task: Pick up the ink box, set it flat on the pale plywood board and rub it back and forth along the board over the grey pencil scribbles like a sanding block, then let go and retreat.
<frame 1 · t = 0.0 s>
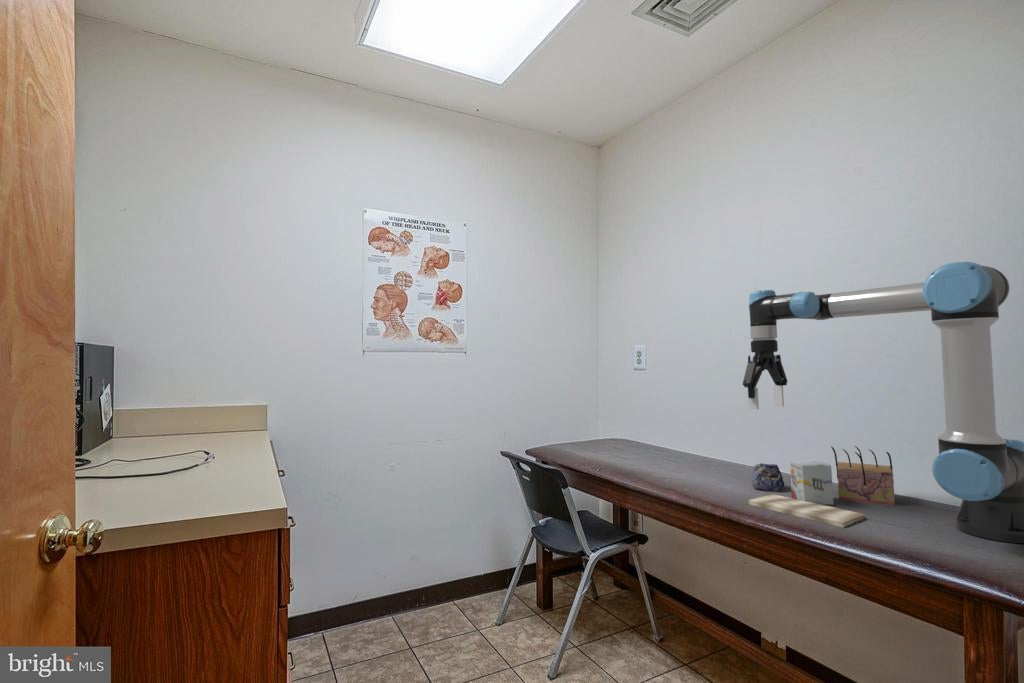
hand: (766, 407, 158), 28 cm above the table, fingers open, 13 cm apart
anatomical model: (863, 498, 155), on the table
board: (803, 511, 143), on the table
rock: (765, 488, 169), on the table
ink box: (811, 501, 152), on the table
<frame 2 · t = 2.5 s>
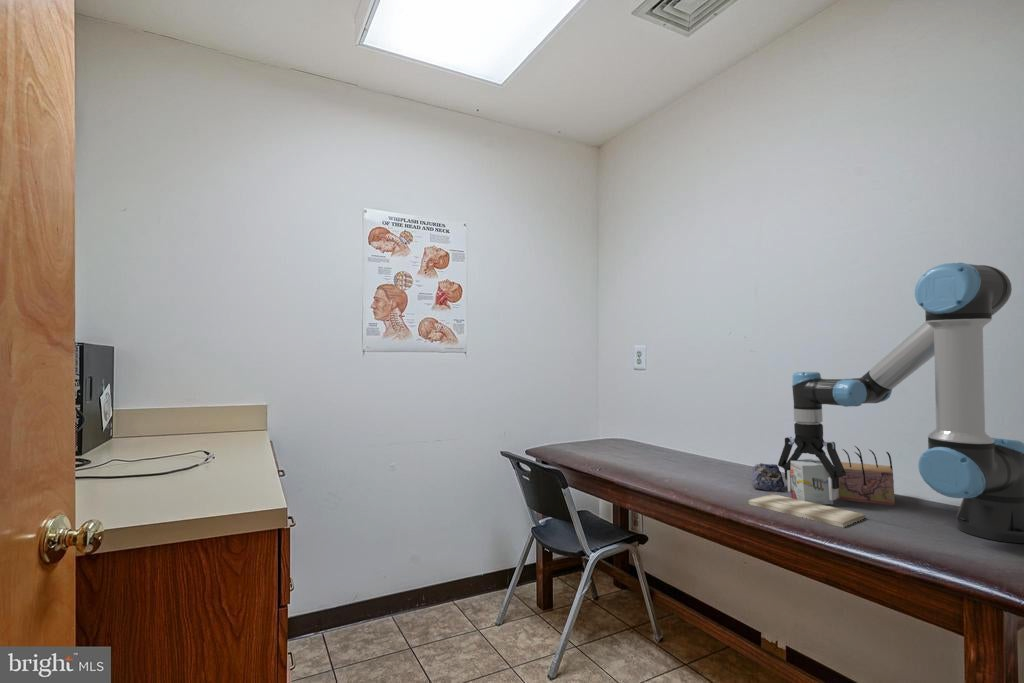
hand: (811, 495, 152), 2 cm above the table, fingers closed on ink box, 11 cm apart
ink box: (811, 501, 152), on the table, touching gripper
everything else where it was.
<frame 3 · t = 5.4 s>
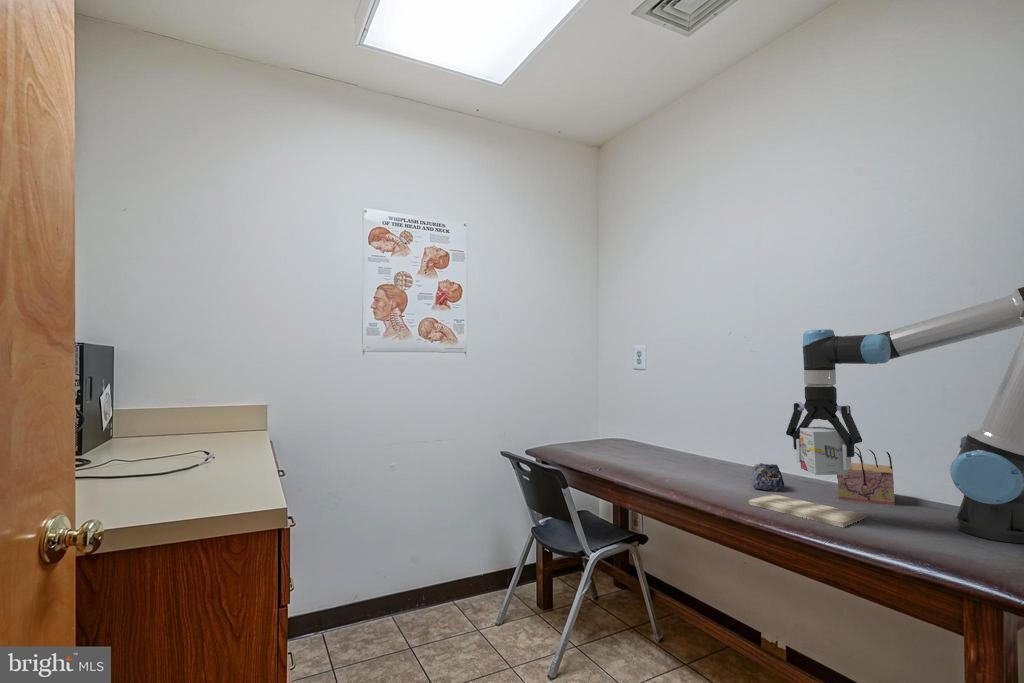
hand: (823, 465, 138), 14 cm above the table, fingers closed on ink box, 11 cm apart
ink box: (823, 472, 138), point 12 cm above the table, touching gripper
everything else where it was.
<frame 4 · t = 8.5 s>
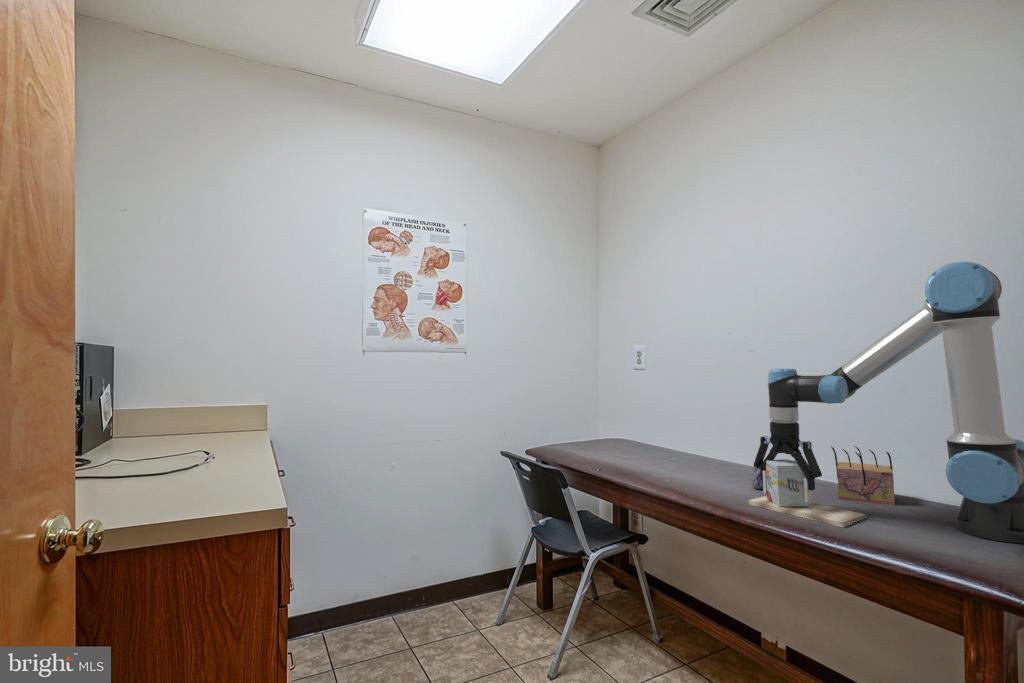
hand: (787, 496, 147), 3 cm above the table, fingers closed on ink box, 11 cm apart
ink box: (787, 503, 147), point 1 cm above the table, touching gripper
everything else where it was.
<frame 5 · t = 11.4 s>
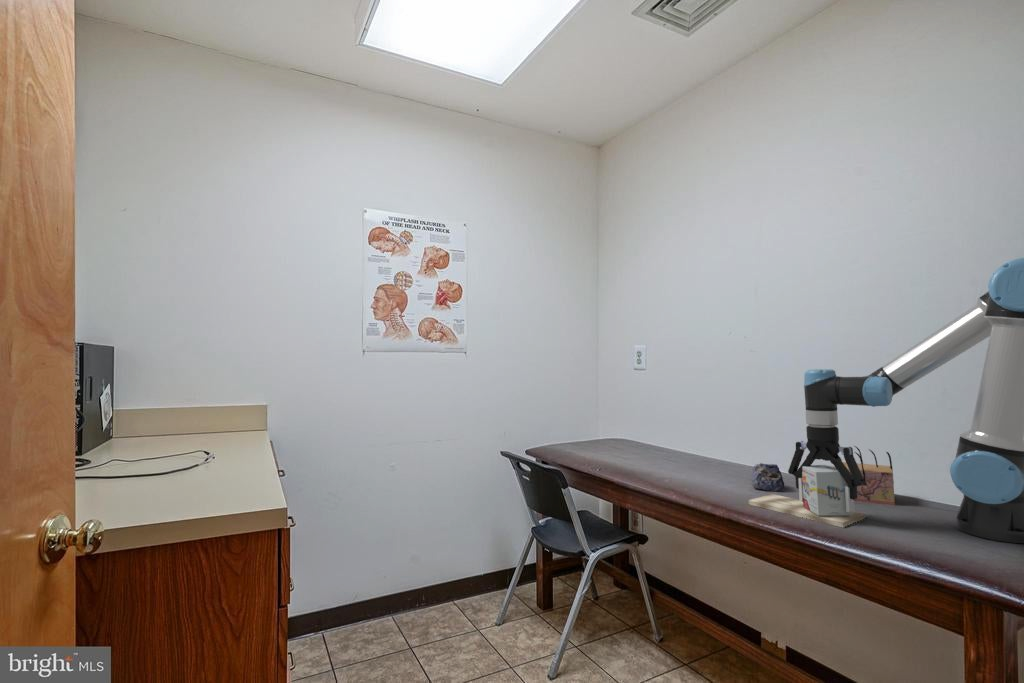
hand: (826, 505, 138), 3 cm above the table, fingers closed on ink box, 11 cm apart
ink box: (826, 512, 138), point 1 cm above the table, touching gripper
everything else where it was.
when the fingers open (3 cm above the table, at t = 14.3 s): ink box stays where it is, resting on board.
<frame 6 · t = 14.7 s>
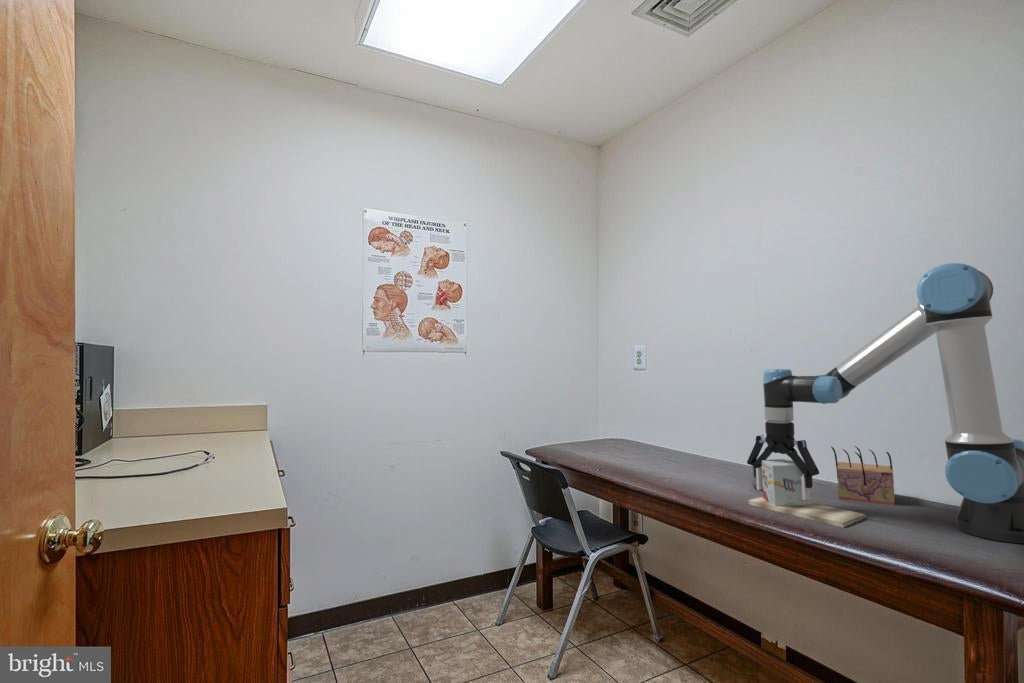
hand: (782, 494, 148), 3 cm above the table, fingers open, 13 cm apart
ink box: (783, 502, 148), point 1 cm above the table, touching board
everything else where it was.
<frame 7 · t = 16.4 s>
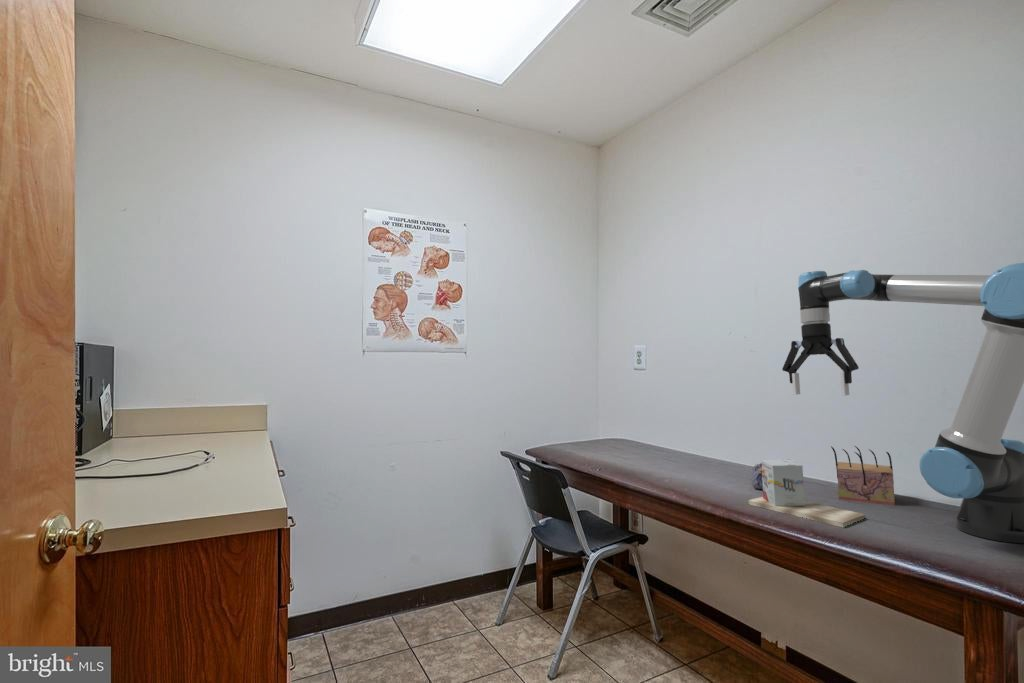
hand: (820, 394, 150), 32 cm above the table, fingers open, 13 cm apart
nothing on the table moved.
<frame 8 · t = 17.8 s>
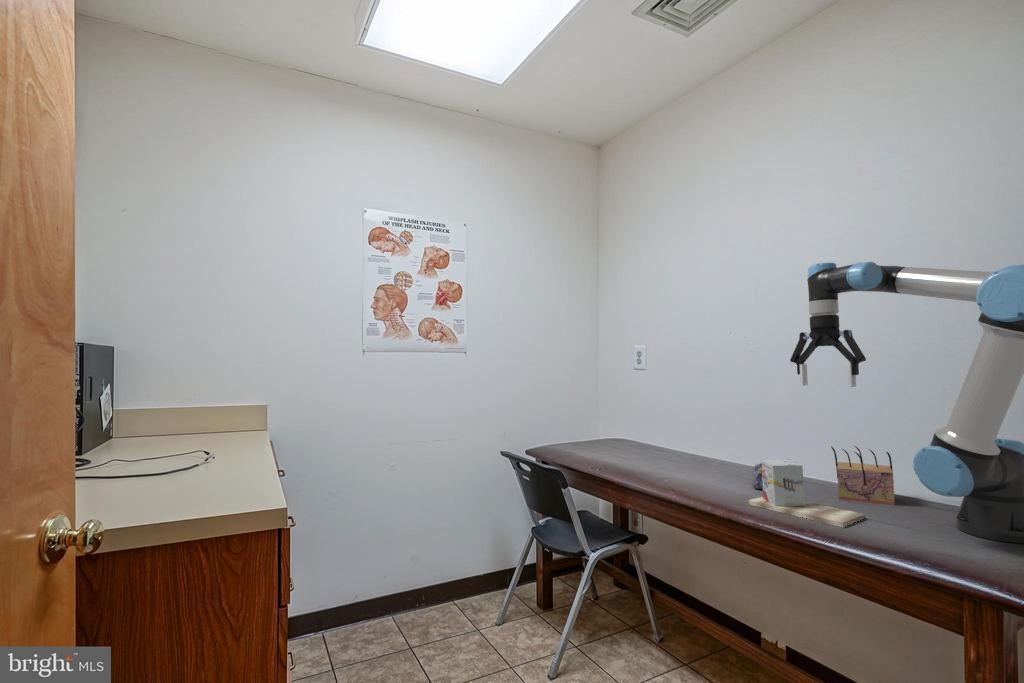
hand: (827, 386, 151), 35 cm above the table, fingers open, 13 cm apart
nothing on the table moved.
at the end: ink box inside the target area on the board (5.9 cm from its centre), point 1.0 cm above the board's base; ink box tilted 0°; the gripper is holding nothing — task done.
